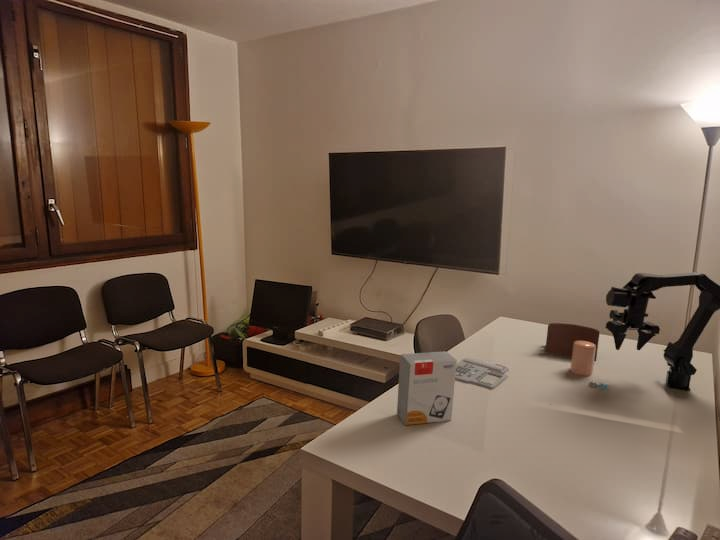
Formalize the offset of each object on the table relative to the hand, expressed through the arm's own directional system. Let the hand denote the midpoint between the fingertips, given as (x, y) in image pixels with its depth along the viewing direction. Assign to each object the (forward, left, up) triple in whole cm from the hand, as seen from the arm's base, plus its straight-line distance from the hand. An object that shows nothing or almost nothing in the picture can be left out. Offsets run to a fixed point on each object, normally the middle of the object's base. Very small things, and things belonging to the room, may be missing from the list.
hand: (627, 349), depth 172 cm
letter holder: (+17, -25, -13) cm, 33 cm away
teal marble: (+8, +11, -11) cm, 18 cm away
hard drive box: (+61, +55, -13) cm, 84 cm away
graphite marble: (+11, +11, -11) cm, 19 cm away
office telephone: (+50, +13, -14) cm, 54 cm away
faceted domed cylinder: (+14, -1, -13) cm, 19 cm away
